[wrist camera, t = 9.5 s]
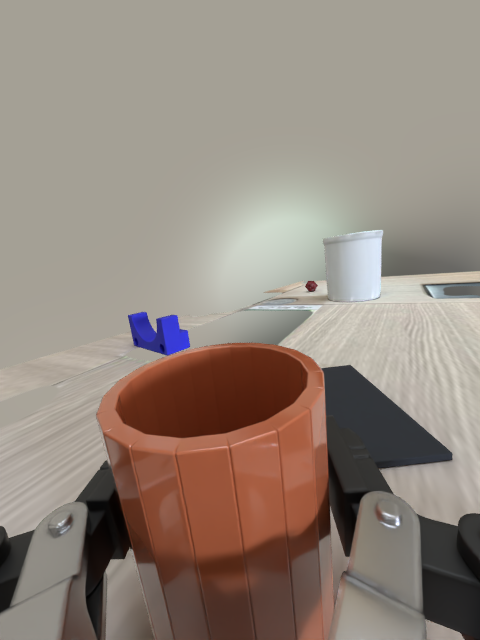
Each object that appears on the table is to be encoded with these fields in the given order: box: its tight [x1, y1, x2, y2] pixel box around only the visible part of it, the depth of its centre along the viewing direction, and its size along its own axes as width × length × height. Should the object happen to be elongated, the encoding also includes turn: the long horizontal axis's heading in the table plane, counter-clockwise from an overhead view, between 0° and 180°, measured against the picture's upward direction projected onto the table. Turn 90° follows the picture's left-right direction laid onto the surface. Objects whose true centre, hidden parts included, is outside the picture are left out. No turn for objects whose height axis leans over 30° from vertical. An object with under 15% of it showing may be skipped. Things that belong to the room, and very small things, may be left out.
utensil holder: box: [323, 230, 383, 302], centre depth 71 cm, size 15×15×18 cm
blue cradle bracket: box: [128, 312, 190, 356], centre depth 46 cm, size 12×4×6 cm, turn 47°
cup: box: [96, 343, 334, 640], centre depth 9 cm, size 6×6×10 cm
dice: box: [305, 281, 318, 291], centre depth 95 cm, size 4×4×4 cm
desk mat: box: [321, 365, 452, 468], centre depth 23 cm, size 14×14×1 cm
